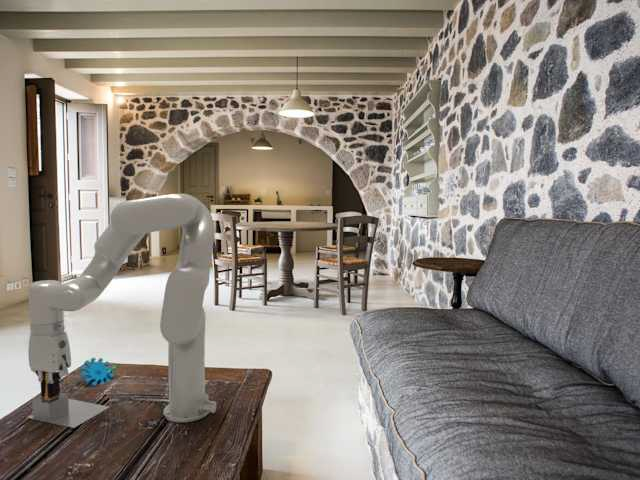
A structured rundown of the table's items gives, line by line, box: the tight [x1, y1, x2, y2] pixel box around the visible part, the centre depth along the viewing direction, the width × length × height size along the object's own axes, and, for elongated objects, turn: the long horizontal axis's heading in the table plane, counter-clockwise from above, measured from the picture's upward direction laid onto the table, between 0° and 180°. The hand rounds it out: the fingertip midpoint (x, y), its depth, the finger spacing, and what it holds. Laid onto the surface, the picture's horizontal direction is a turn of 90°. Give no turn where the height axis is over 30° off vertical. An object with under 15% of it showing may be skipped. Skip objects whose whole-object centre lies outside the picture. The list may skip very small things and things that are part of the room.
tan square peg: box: [43, 372, 57, 401], centre depth 119 cm, size 2×2×10 cm
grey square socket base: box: [26, 392, 110, 429], centre depth 121 cm, size 16×12×6 cm
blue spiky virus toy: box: [80, 357, 116, 387], centre depth 142 cm, size 11×6×10 cm
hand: (50, 395), depth 119 cm, fingers closed on tan square peg, 1 cm apart
